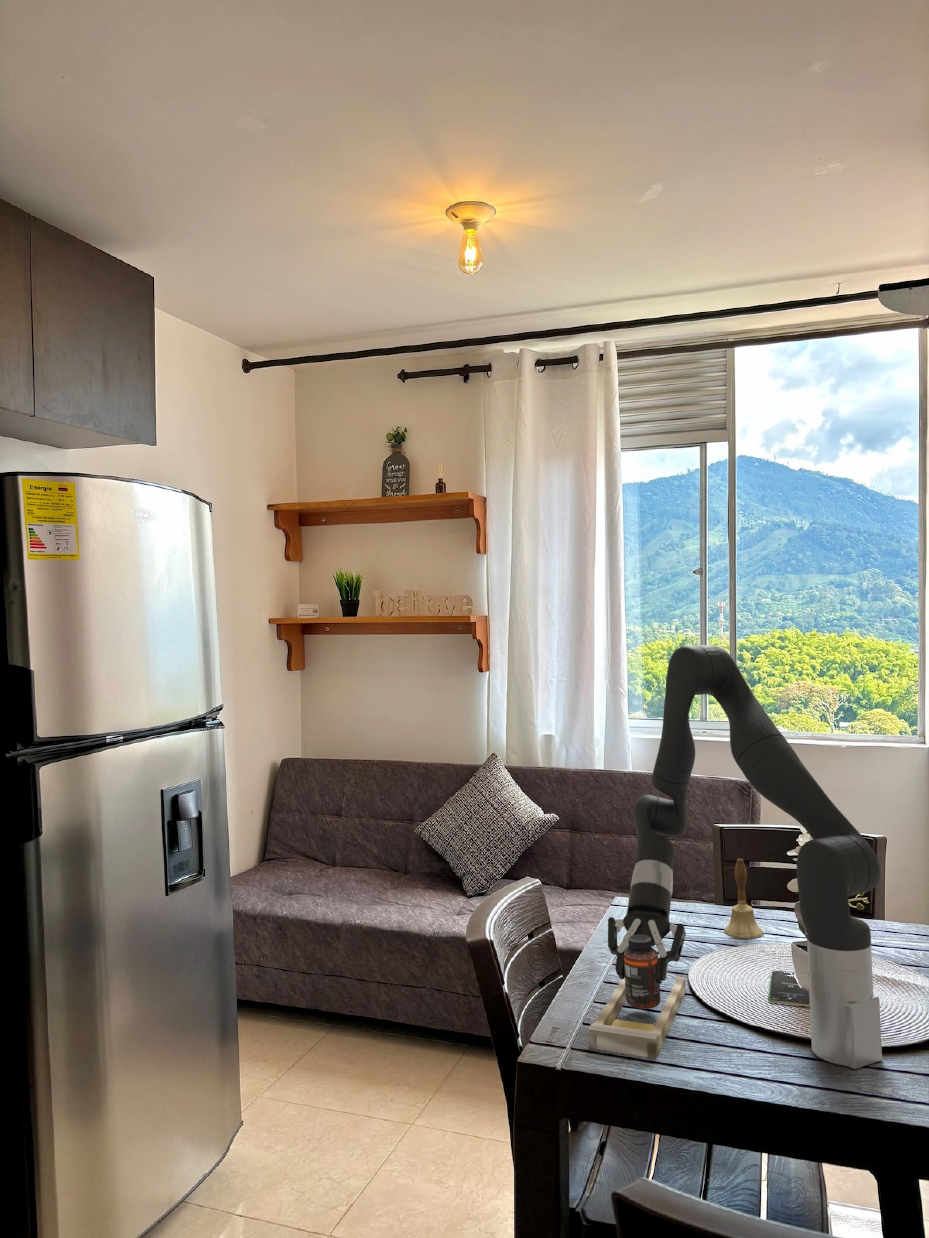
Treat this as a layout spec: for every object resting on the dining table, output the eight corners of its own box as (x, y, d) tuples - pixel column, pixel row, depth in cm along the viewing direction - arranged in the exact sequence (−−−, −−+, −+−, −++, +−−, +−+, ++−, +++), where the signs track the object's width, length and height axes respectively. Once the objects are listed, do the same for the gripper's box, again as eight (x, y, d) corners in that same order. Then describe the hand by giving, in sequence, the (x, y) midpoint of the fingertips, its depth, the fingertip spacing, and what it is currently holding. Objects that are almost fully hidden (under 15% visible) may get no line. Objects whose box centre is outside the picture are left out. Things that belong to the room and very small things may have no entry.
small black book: (813, 973, 166) (813, 1004, 152) (813, 978, 166) (813, 1010, 152) (771, 969, 169) (767, 999, 155) (771, 974, 169) (767, 1004, 155)
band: (614, 1021, 149) (614, 1018, 149) (659, 1027, 146) (659, 1025, 146) (607, 1033, 145) (607, 1031, 145) (653, 1040, 142) (653, 1038, 142)
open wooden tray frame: (627, 983, 165) (627, 967, 166) (685, 990, 161) (685, 974, 161) (588, 1047, 140) (588, 1029, 140) (656, 1058, 135) (655, 1039, 136)
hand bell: (716, 931, 193) (713, 858, 194) (740, 923, 198) (737, 852, 198) (746, 941, 186) (743, 866, 187) (771, 933, 191) (768, 859, 191)
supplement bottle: (658, 996, 155) (655, 932, 155) (662, 1010, 149) (659, 943, 149) (624, 996, 155) (621, 932, 156) (627, 1010, 149) (624, 943, 150)
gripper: (608, 877, 162) (594, 964, 151) (687, 883, 157) (678, 974, 145) (616, 898, 167) (603, 984, 156) (693, 904, 161) (685, 994, 150)
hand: (639, 978), depth 151 cm, fingers closed on supplement bottle, 6 cm apart
